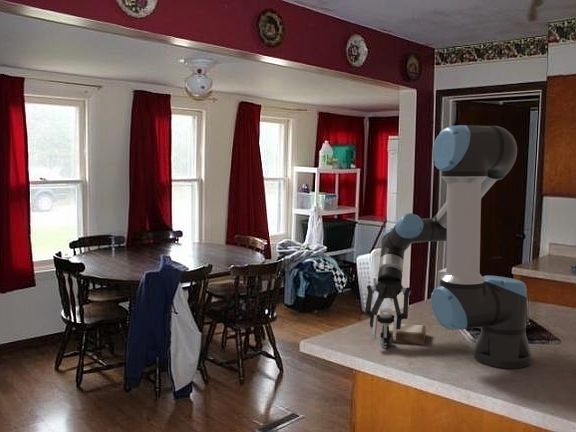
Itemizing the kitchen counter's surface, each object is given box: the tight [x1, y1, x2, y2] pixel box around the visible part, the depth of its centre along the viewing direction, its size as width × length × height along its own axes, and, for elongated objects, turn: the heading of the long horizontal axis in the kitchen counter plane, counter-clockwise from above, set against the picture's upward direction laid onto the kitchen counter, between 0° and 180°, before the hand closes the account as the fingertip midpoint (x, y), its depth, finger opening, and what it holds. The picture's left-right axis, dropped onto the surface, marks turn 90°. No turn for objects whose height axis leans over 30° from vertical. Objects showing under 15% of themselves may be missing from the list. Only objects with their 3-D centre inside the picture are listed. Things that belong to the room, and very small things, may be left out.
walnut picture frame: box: [389, 322, 427, 345], centre depth 181 cm, size 12×10×3 cm
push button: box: [377, 311, 395, 349], centre depth 173 cm, size 7×5×10 cm
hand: (383, 337), depth 169 cm, fingers closed on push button, 5 cm apart
